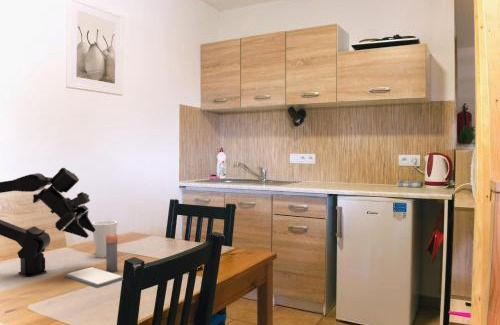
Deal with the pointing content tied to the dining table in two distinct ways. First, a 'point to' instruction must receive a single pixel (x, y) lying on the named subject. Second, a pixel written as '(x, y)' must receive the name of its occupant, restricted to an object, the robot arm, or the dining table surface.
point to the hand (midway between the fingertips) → (91, 233)
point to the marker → (111, 252)
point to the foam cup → (102, 235)
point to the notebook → (94, 277)
